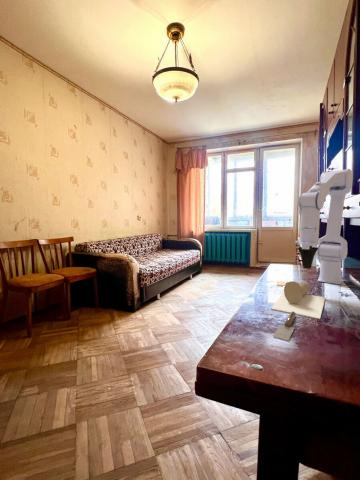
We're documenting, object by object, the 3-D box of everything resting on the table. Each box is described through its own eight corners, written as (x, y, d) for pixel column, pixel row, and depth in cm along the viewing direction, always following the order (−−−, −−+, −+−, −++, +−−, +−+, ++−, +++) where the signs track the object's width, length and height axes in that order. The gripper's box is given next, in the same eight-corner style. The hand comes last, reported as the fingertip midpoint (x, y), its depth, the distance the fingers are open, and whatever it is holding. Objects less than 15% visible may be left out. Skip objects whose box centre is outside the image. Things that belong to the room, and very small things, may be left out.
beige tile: (276, 283, 99) (276, 280, 99) (292, 284, 97) (292, 282, 97) (276, 287, 93) (276, 284, 93) (294, 288, 91) (294, 286, 91)
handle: (310, 277, 83) (299, 281, 72) (313, 296, 83) (303, 303, 71) (295, 278, 86) (282, 282, 75) (298, 297, 85) (285, 303, 74)
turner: (287, 314, 65) (287, 310, 65) (299, 317, 64) (299, 312, 64) (273, 337, 53) (273, 332, 53) (288, 341, 51) (288, 335, 51)
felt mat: (285, 291, 86) (285, 290, 86) (325, 298, 79) (325, 297, 79) (270, 309, 69) (270, 308, 69) (320, 319, 62) (320, 318, 62)
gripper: (299, 227, 91) (297, 263, 93) (292, 228, 79) (290, 270, 81) (321, 228, 87) (319, 265, 89) (317, 229, 75) (315, 273, 77)
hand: (307, 268), depth 84 cm, fingers closed
